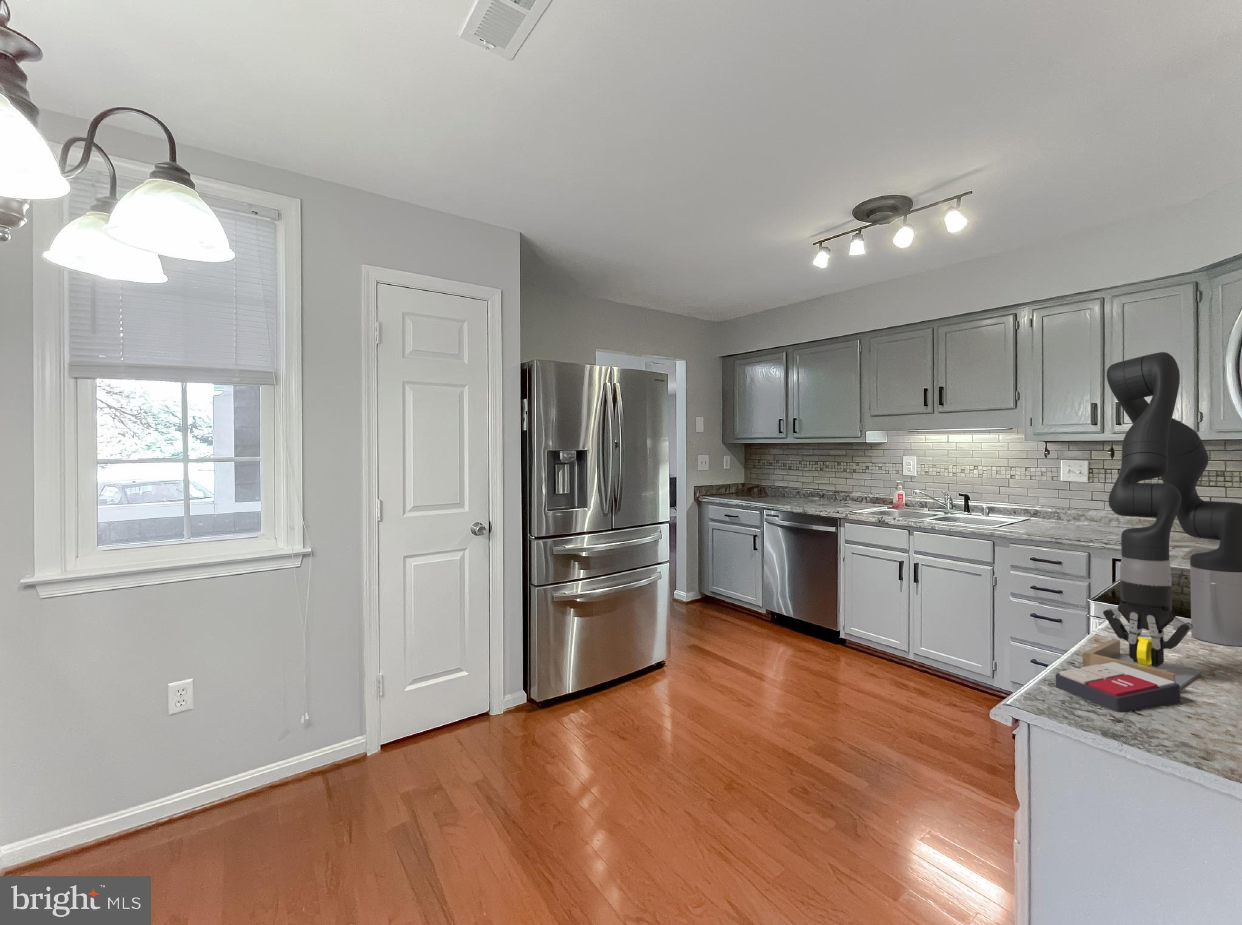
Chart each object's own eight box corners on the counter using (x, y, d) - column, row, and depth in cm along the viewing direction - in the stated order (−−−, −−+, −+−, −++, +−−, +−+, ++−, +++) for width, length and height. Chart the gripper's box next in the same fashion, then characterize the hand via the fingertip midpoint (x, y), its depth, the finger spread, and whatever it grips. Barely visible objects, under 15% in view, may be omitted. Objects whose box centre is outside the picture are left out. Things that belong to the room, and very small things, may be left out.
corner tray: (1113, 654, 120) (1112, 638, 120) (1200, 675, 108) (1199, 657, 108) (1082, 670, 112) (1082, 652, 112) (1173, 693, 100) (1173, 674, 100)
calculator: (1053, 670, 104) (1112, 658, 107) (1055, 691, 104) (1114, 679, 108) (1117, 694, 93) (1180, 680, 97) (1118, 718, 94) (1181, 703, 97)
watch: (1142, 661, 112) (1142, 633, 112) (1160, 665, 109) (1160, 636, 110) (1132, 665, 109) (1132, 636, 109) (1150, 670, 106) (1150, 640, 107)
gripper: (1094, 576, 113) (1096, 657, 113) (1187, 589, 101) (1188, 679, 101) (1108, 571, 117) (1110, 650, 117) (1199, 583, 105) (1201, 671, 105)
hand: (1146, 663), depth 109 cm, fingers closed on watch, 2 cm apart
